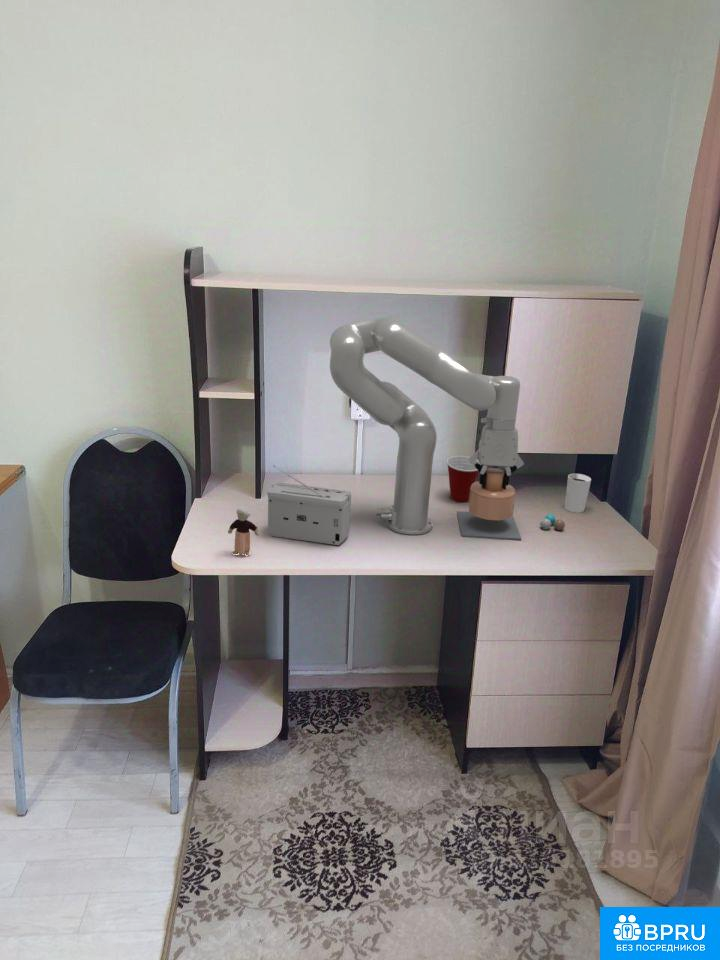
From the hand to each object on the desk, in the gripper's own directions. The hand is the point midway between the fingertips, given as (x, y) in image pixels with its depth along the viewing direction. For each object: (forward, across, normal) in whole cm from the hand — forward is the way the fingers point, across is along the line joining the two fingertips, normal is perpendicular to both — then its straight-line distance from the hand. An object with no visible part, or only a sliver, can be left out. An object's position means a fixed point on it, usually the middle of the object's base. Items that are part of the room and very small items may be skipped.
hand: (493, 486), depth 199 cm
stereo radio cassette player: (+12, -49, -14) cm, 53 cm away
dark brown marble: (+12, +20, +1) cm, 23 cm away
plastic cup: (+12, -6, +19) cm, 23 cm away
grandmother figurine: (+12, -64, -26) cm, 70 cm away
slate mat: (+12, 0, 0) cm, 12 cm away
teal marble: (+12, +18, +4) cm, 22 cm away
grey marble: (+12, +16, +1) cm, 20 cm away
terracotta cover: (+7, 0, 0) cm, 7 cm away
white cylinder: (+12, +28, +17) cm, 35 cm away
